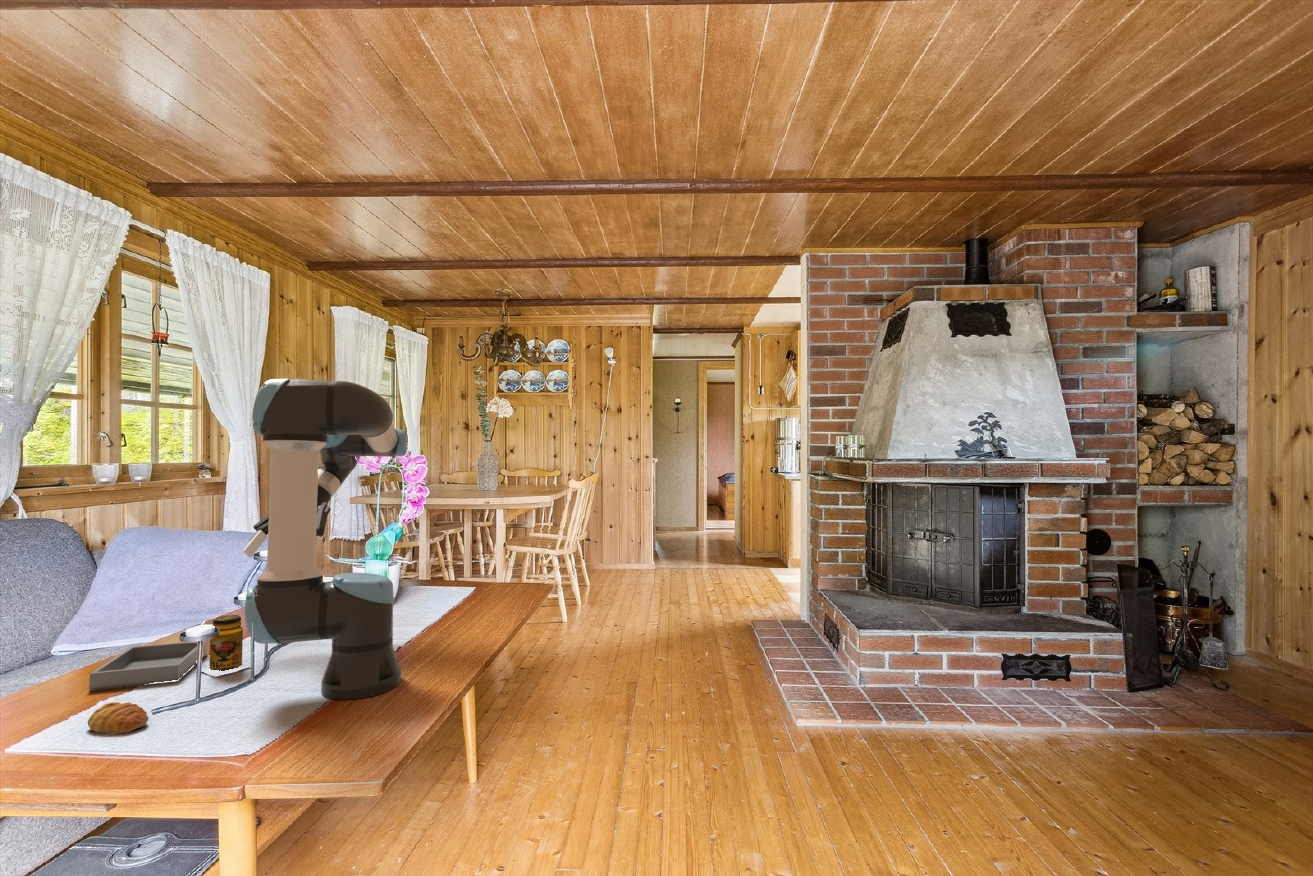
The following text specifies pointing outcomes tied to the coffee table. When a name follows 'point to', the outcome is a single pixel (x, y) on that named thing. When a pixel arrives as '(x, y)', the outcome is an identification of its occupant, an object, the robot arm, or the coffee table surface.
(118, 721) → the pastry
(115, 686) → the tray
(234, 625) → the condiment
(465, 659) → the coffee table surface
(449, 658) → the coffee table surface
